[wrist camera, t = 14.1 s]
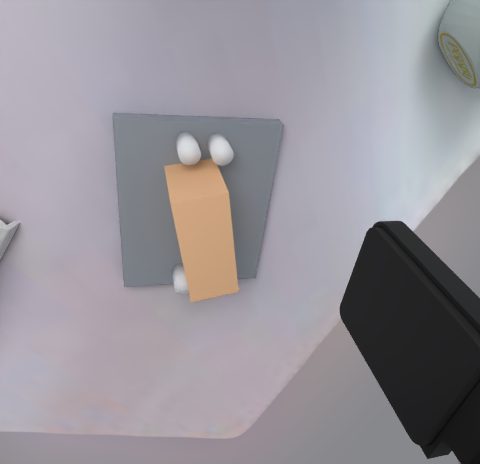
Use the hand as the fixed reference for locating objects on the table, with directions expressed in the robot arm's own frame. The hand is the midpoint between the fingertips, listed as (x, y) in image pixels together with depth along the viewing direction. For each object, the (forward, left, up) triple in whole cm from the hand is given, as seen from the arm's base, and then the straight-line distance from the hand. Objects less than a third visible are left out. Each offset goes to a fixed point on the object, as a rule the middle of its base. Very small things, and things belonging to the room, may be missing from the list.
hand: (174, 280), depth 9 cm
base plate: (+17, +5, -30) cm, 35 cm away
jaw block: (+16, +6, -29) cm, 34 cm away
